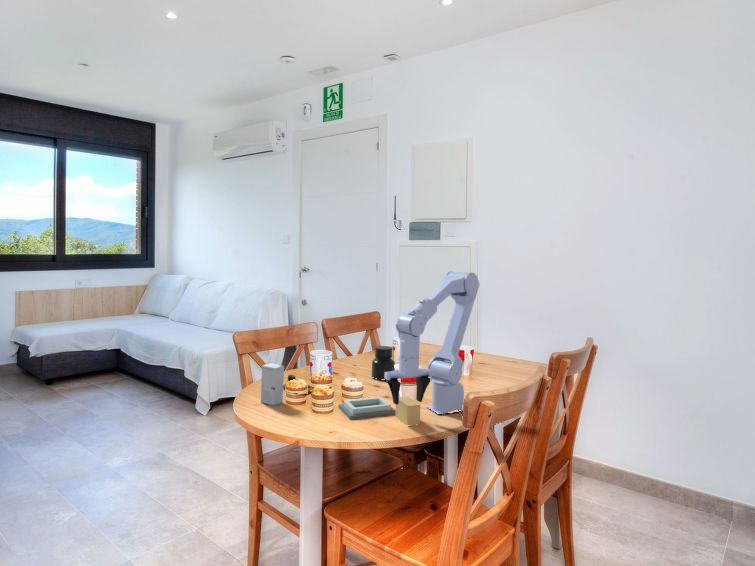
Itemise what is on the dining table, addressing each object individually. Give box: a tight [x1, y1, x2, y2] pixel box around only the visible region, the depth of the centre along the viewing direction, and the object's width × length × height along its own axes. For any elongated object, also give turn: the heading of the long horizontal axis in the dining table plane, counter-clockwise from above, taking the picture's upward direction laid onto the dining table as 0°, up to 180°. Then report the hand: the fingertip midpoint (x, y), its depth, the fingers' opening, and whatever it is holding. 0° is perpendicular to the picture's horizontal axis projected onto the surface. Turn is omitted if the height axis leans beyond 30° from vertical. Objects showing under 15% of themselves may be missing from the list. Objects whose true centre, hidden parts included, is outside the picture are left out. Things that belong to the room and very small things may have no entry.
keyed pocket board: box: [337, 396, 396, 420], centre depth 147 cm, size 15×11×2 cm
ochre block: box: [394, 396, 421, 426], centre depth 139 cm, size 4×8×6 cm, turn 23°
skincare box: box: [260, 362, 285, 406], centre depth 152 cm, size 6×4×12 cm
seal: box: [283, 374, 312, 394], centre depth 168 cm, size 9×5×15 cm
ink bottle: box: [371, 345, 396, 380], centre depth 186 cm, size 10×9×12 cm
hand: (407, 402), depth 139 cm, fingers open, 7 cm apart
